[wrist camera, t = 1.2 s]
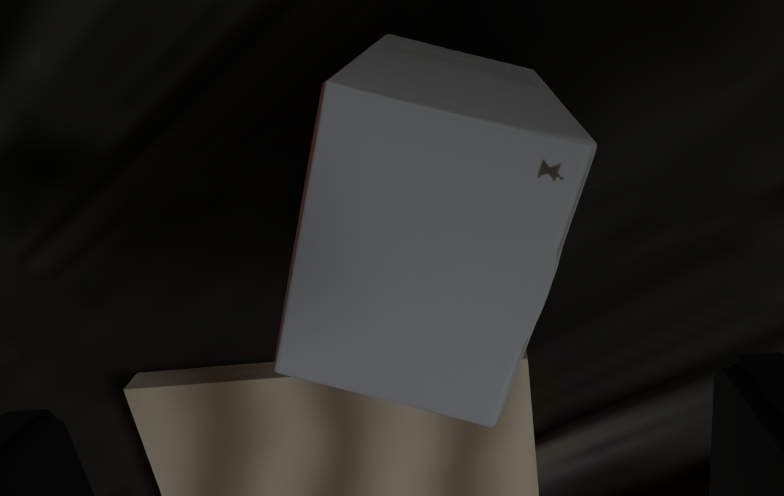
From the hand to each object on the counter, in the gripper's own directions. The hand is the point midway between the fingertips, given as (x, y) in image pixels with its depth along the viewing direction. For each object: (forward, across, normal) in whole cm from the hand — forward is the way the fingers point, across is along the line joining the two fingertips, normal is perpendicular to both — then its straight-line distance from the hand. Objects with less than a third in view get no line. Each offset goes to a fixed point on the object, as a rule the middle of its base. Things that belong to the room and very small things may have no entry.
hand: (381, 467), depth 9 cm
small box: (+20, 0, 0) cm, 20 cm away
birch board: (+20, +7, +20) cm, 29 cm away
